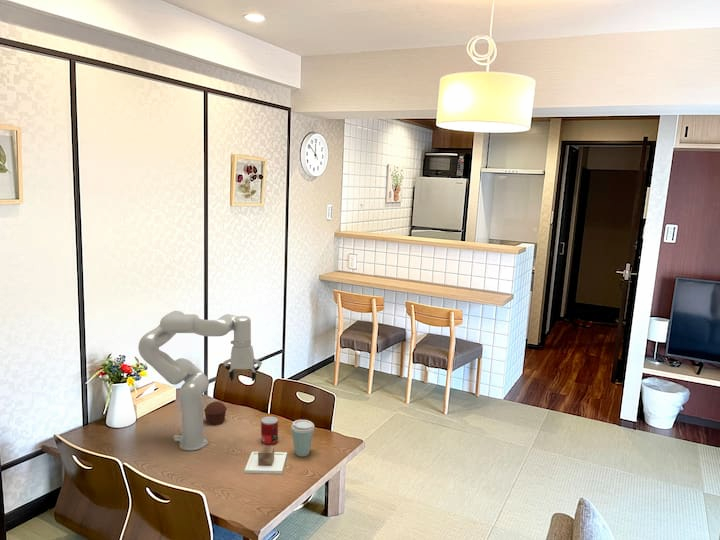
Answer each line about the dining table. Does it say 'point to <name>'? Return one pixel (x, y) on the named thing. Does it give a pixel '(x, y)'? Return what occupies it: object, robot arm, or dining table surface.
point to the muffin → (215, 413)
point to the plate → (274, 469)
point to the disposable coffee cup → (302, 436)
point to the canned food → (269, 430)
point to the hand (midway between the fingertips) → (242, 379)
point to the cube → (266, 456)
